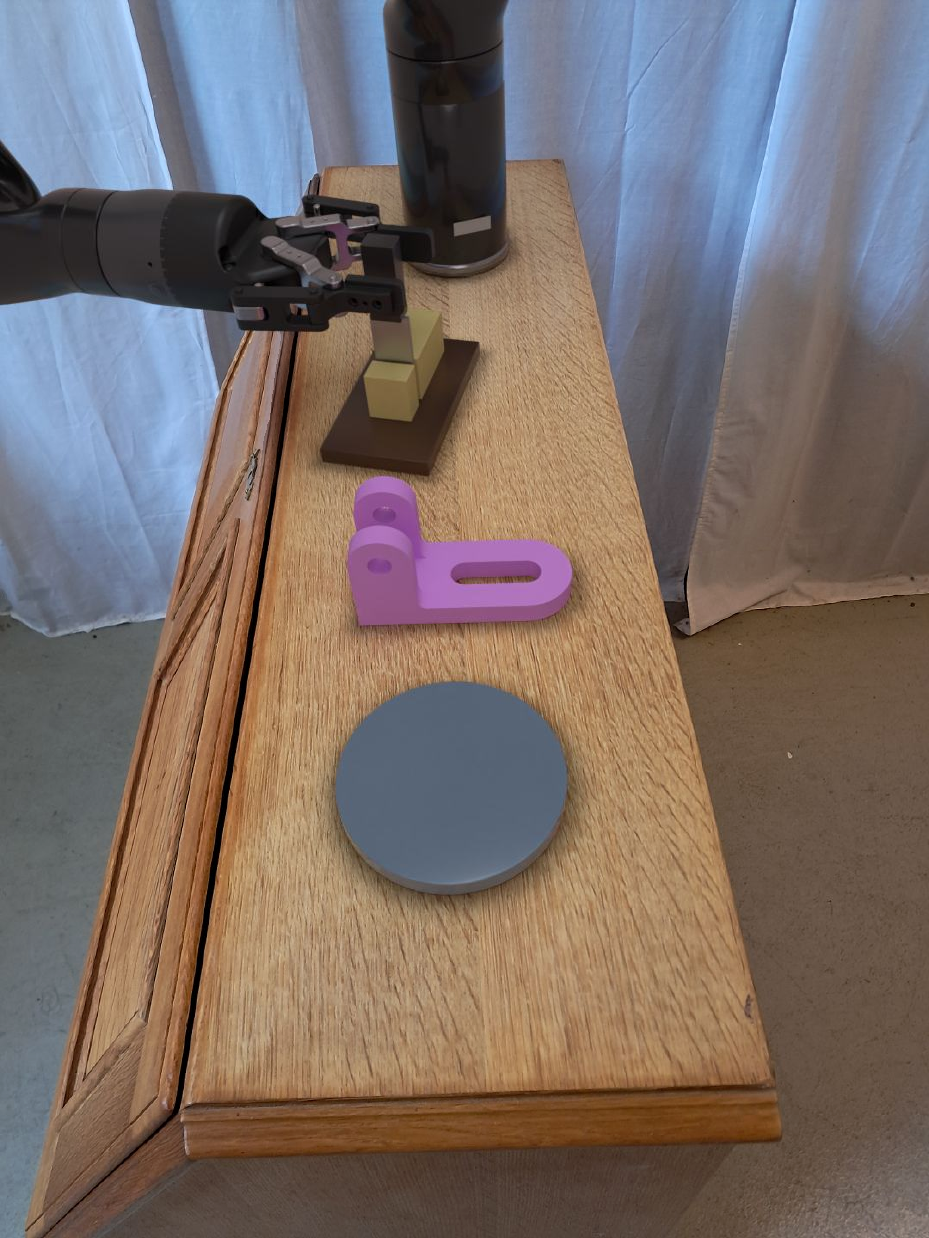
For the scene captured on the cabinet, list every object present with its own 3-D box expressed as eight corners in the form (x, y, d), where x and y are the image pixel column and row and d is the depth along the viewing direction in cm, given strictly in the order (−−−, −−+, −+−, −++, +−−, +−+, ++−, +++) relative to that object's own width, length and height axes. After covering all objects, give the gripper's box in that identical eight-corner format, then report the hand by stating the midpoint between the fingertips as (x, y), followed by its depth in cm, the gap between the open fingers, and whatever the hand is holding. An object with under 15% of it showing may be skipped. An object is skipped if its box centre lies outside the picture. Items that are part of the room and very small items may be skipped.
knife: (385, 391, 69) (363, 232, 60) (421, 395, 68) (404, 235, 59) (378, 404, 68) (355, 244, 59) (414, 408, 67) (396, 248, 58)
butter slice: (378, 400, 68) (372, 360, 66) (419, 405, 68) (414, 364, 65) (369, 417, 67) (363, 376, 64) (411, 422, 66) (406, 381, 64)
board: (385, 344, 75) (383, 331, 74) (480, 354, 74) (479, 341, 73) (322, 462, 66) (319, 449, 65) (428, 476, 64) (427, 463, 63)
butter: (405, 346, 73) (401, 307, 70) (444, 351, 72) (441, 310, 69) (381, 395, 69) (375, 354, 66) (421, 399, 68) (417, 359, 65)
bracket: (359, 625, 56) (341, 544, 50) (366, 559, 59) (350, 477, 54) (574, 619, 55) (579, 536, 50) (568, 553, 59) (572, 469, 53)
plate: (379, 677, 53) (376, 664, 52) (584, 714, 51) (585, 701, 50) (305, 865, 46) (300, 855, 45) (541, 920, 43) (542, 909, 42)
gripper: (116, 251, 56) (378, 274, 52) (215, 149, 65) (444, 163, 61) (154, 357, 62) (392, 384, 58) (240, 250, 70) (451, 268, 67)
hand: (418, 271), depth 60 cm, fingers open, 6 cm apart
